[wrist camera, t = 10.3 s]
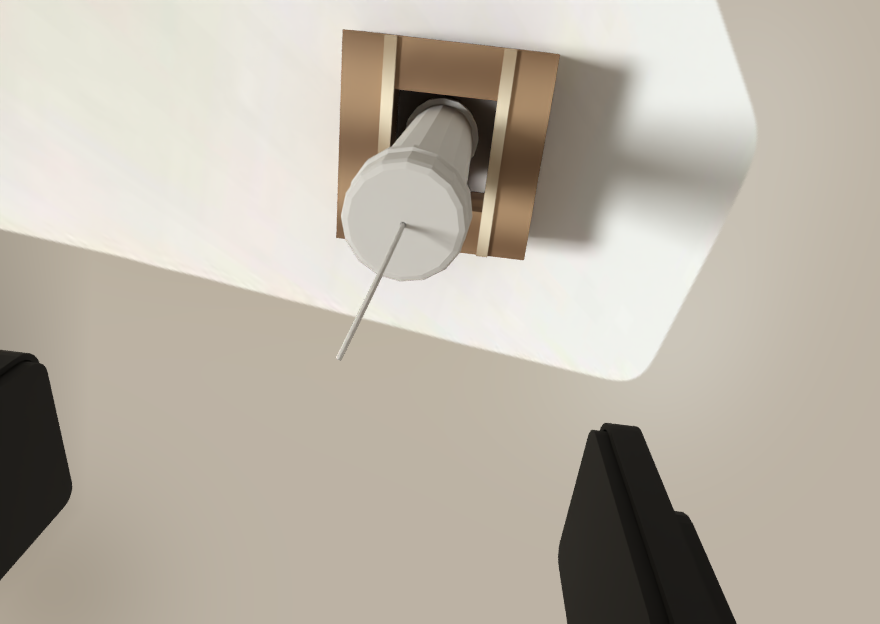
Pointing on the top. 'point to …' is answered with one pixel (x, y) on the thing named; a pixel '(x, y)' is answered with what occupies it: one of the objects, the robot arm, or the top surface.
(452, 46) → the socket block
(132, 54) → the top surface
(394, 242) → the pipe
